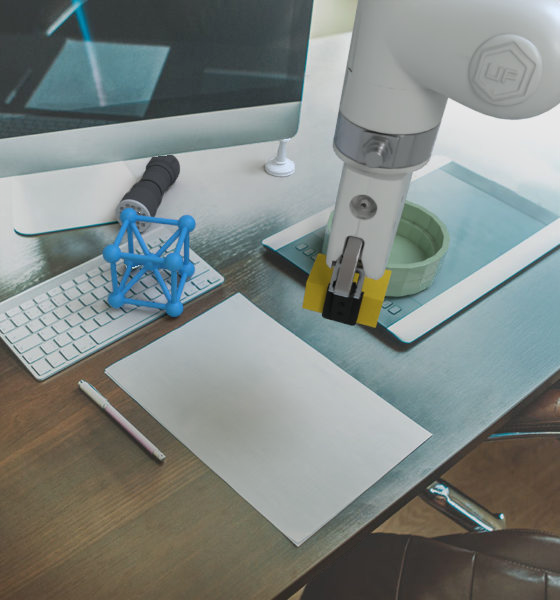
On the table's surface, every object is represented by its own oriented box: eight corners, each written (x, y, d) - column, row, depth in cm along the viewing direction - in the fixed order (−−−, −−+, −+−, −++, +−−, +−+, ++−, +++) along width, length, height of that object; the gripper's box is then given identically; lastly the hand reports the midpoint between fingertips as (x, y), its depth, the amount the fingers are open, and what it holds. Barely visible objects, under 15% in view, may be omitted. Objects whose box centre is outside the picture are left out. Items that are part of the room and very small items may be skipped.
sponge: (384, 297, 64) (391, 270, 61) (375, 328, 61) (383, 301, 58) (313, 279, 66) (318, 252, 63) (301, 308, 63) (306, 281, 60)
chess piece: (279, 157, 110) (285, 102, 103) (301, 169, 107) (309, 113, 100) (258, 167, 108) (263, 112, 101) (280, 180, 105) (287, 124, 98)
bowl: (443, 240, 93) (454, 209, 89) (431, 312, 83) (443, 280, 79) (334, 217, 98) (340, 186, 94) (310, 282, 87) (316, 250, 84)
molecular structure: (181, 322, 82) (181, 262, 76) (105, 310, 84) (99, 251, 77) (196, 271, 89) (197, 212, 83) (126, 261, 91) (121, 203, 84)
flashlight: (151, 174, 107) (150, 145, 104) (182, 180, 106) (182, 151, 102) (116, 228, 97) (113, 198, 93) (150, 235, 95) (149, 205, 92)
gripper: (419, 201, 44) (366, 376, 56) (447, 93, 55) (398, 259, 67) (309, 179, 46) (282, 351, 59) (358, 79, 57) (326, 242, 70)
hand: (345, 300), depth 63 cm, fingers closed on sponge, 4 cm apart
